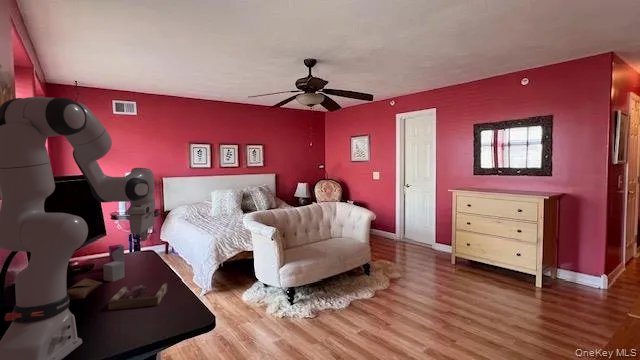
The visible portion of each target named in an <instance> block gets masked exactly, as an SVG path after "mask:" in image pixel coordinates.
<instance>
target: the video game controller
mask: <svg viewBox="0 0 640 360" xmlns="http://www.w3.org/2000/svg"><path fill="white" fill-rule="evenodd" d="M147 291H148V288H147V287H146V286H144V285H142V284H140V285H137V286H136V285H135V286H132V287H131V288H130V289H127V291H126V292H125V293H124V294H123V295H122V296H121V297H120V298H119V299H118V300H120V299H132V298H142V296H144V295H145V294H146V292H147Z"/></svg>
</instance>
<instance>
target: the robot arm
mask: <svg viewBox="0 0 640 360" xmlns="http://www.w3.org/2000/svg"><path fill="white" fill-rule="evenodd" d="M59 136H60V137H61V136H64V138H65V139H66V140H67V142H68V143H69V144H70V145H71V147H72V149H73V150H72V157H73V159H74V162H75V164H76V165H77V168H78V170H79V171H80V172H81V174H82V175H83V177H84V179H85V181H86V183H88V186H89V188H90V191H91V192H90V193H91V194H92V196H93V198H94V199H95V200H96V201H98V202H99V203H112V202H113V203H117V202H118V203H120V202H121V203H122V202H123V203H124V202H126V203H127V202H130V205H129V207H128V209H127V215H129V216H128V220H129V221H128V222H129V231H130V233H131V235H139V237H140V238H139V239H140V242H146V241H147V240H148V234H149V229H150V228H152V227H154V226H155V223H156V222H155V211H156V198H155V194H154V193H155V190H156V189H155V178H154V177H155V176H154V173H153V171H152V170H151V169H150V168H145V167H133V168H131V170H130V172H129V173H128V174H126V175H125V176H111V175H106V174H105V173H104V171H103V170H102V168H101V167H100V164H99V163H98V160H100V159H103V158H104V157H105V156H106V155H107V154H108V153H109V152H110V150H111V148H112V144H113V143H112V137H111V135H110V133H109V132H108V131H107V128H105V126H104V125H103V124H102V122H101V121H100V119H99V118H98V117H97V115H95V114H94V113H93V112H92V110H91V109H89V107H87V106H86V105H85V104H84V103H82V102H77V101H75V100H73V99H71V98H67V97H60V96H59V97H49V96H45V97H44V96H29V97H16V98H12V99H11V98H10V99H9V100H6V101H5V102H3V103H2V104H1V105H0V192H1V204H0V249H2V250H5V251H6V250H7V251H9V252H10V251H11V252H30V259H29V262H28V264H27V266H26V267H25V268H23V269H22V270H20V271H19V272H18V273H17V275H16V276H15V278H14V286H15V304H14V307H13V310H12V312H7V313H6V314H5V316H4V321H5V322H10V321H11V323H10V325H9V327H8V329H6V331H5V332H4V334H3V336H2V338H1V339H0V360H62V359H64V358H65V357H67V356H68V355H69V354H70V353H71V352H73V351H74V350H75V349H76V348H78V347H79V346H81V344H83V339H82V338H80V337H78V331H77V324H76V318H75V315H74V314H73V313H72V312H71V311H70V309H69V307H70V299H69V295H68V294H67V289H68V288H67V287H68V286H67V275H68V274H67V273H68V272H67V270H68V265H69V264H70V263H69V262H70V260H71V258H72V256H73V254H74V253H75V251H76V250H78V249H79V248H80V247H81V246H82V245H83V244H84V243H85V241H86V240H87V237H88V234H89V227H88V224H87V221H85V219H83V217H81V216H78V215H76V214H75V215H74V214H71V213H65V212H46V211H45V201H46V199H47V198H48V197H50V195H52V194H53V193H54V192H55V189H56V183H55V179H54V174H53V169H52V165H51V160H50V156H49V152H48V148H47V146H46V144H47V139H48V138H49V137H50V138H51V137H59Z"/></svg>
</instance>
